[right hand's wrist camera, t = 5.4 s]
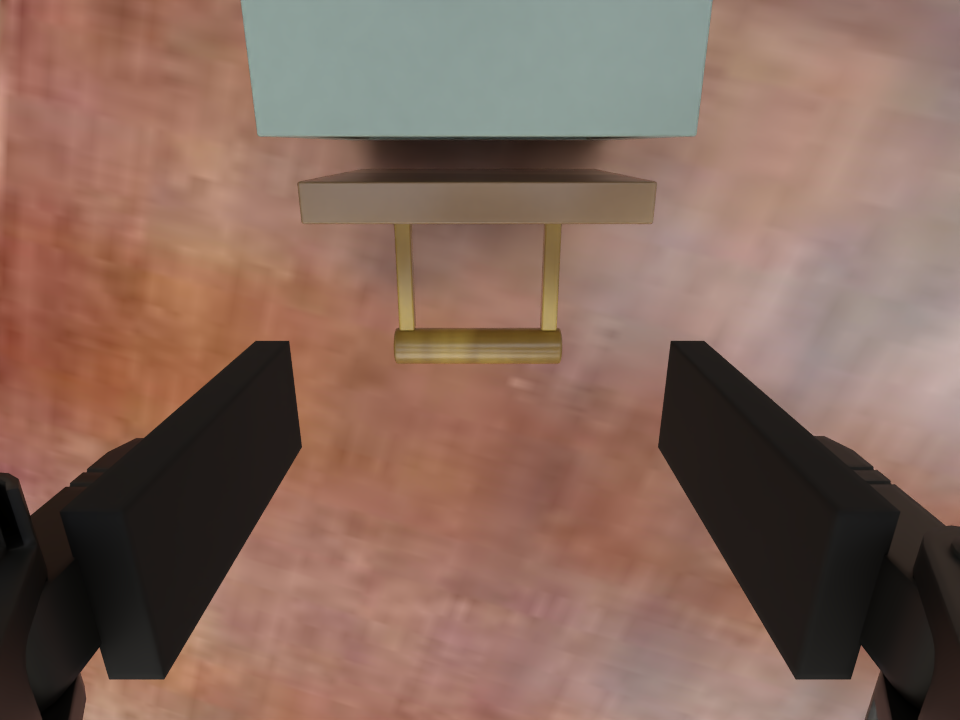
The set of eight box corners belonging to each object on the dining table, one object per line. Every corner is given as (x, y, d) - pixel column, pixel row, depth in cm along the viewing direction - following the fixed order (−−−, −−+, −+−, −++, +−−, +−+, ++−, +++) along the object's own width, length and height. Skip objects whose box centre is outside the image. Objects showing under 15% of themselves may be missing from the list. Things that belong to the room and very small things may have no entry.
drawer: (585, 328, 28) (634, 412, 19) (371, 328, 28) (320, 412, 19) (631, -365, 19) (756, -785, 11) (323, -365, 19) (194, -785, 11)
